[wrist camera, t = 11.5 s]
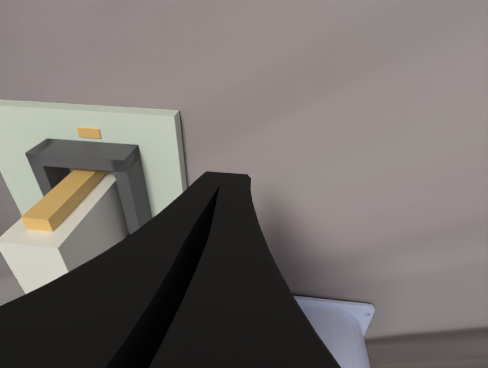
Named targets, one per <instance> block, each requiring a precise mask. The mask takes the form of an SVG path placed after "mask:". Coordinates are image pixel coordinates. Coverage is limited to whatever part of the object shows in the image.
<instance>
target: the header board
mask: <svg viewBox="0 0 488 368" xmlns="http://www.w3.org/2000/svg"><path fill="white" fill-rule="evenodd" d="M75 168H76V169H89V170H102V171H114V175H115V179H116V183H117V186H118V190H119V194H120V198H121V202H122V206H123V210H124V214H125V218H126V222H127V226H128V230H129V233H128V234H127V236H126V237H128V236H129V235H131V234H132V233H133V232H135V231H136V230H138V229H139V228H140V227H142V226H143V225H144V224H145V223H147V222H148V221H149V220H151V219H152V218H153V217H154V216H156V215H157V214H158V213H160V212H161V211H162V210H163V209H164V208H166V207H167V206H168V205H169V204H170V203H171V202H172V201H174V200H175V199H176V198H177V197H178V196H179V195H181V194H182V193H183V192H184V191H185V190H186V189H187V183H186V173H185V163H184V153H183V143H182V133H181V123H180V113H179V110H166V109H150V108H133V107H116V106H100V105H83V104H66V103H50V102H33V101H16V100H0V172H1V174H2V176H3V178H4V180H5V182H6V184H7V186H8V188H9V190H10V192H11V194H12V196H13V198H14V200H15V202H16V204H17V206H18V208H19V210H20V212H21V214H22V216H23V215H24V214H25V213H26V212H27V211H28V210H29V209H31V208H32V207H33V206H34V205H35V204H36V203H37V202H38V201H40V200H41V199H42V198H43V197H44V196H45V195H46V194H47V193H49V192H50V191H51V190H52V189H53V188H54V187H55V186H56V185H58V184H59V183H60V182H61V181H62V180H63V179H64V178H65V177H67V176H68V175H69V174H70V173H71V172H72V171H73V170H74V169H75Z"/></svg>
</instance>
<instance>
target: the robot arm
mask: <svg viewBox="0 0 488 368" xmlns="http://www.w3.org/2000/svg"><path fill="white" fill-rule="evenodd" d="M250 187H251V178H250V177H249V176H248V175H247V174H234V173H221V172H207V171H206V172H205V173H204V174H203V175H201V176H200V177H199V178H198V179H197V180H196V181H195V182H194V183H193V184H192V185H190V186H189V187H188V188H187V189H186V190H185V191H184V192H183V193H182V194H181V195H179V196H178V197H177V198H176V199H175V200H174V201H172V202H171V203H170V204H169V205H168V206H167V207H166V208H164V209H163V210H162V211H161V212H160V213H158V214H157V215H156V216H154V217H153V218H152V219H151V220H149V221H148V222H147V223H145V224H144V225H143V226H142V227H140V228H139V229H138V230H136V231H135V232H133V233H132V234H131V235H129V236H128V237H126V238H125V239H123V240H122V241H120V242H119V243H117V244H115V245H114V246H112V247H111V248H109V249H108V250H106V251H104V252H103V253H101V254H100V255H98V256H96V257H95V258H93V259H91V260H89V261H87V262H86V263H84V264H82V265H80V266H78V267H77V268H75V269H73V270H71V271H69V272H68V273H66V274H64V275H62V276H60V277H59V278H57V279H55V280H53V281H51V282H49V283H47V284H45V285H43V286H41V287H39V288H37V289H35V290H33V291H31V292H29V293H27V294H25V295H23V296H21V297H19V298H17V299H15V300H13V301H10V302H8V303H6V304H4V305H2V306H0V368H370V364H369V359H368V355H367V350H366V346H365V341H364V335H365V333H366V331H367V328H368V326H369V324H370V321H371V319H372V317H373V314H374V312H375V308H374V306H373V305H372V304H367V303H357V302H348V301H339V300H329V299H320V298H311V297H301V296H293V295H292V293H291V291H290V289H289V288H288V286H287V284H286V282H285V280H284V279H283V277H282V275H281V273H280V271H279V269H278V267H277V265H276V263H275V261H274V259H273V257H272V255H271V253H270V250H269V248H268V246H267V243H266V241H265V238H264V236H263V233H262V231H261V228H260V225H259V222H258V219H257V216H256V213H255V209H254V206H253V202H252V197H251V190H250Z"/></svg>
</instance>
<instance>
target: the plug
mask: <svg viewBox="0 0 488 368" xmlns="http://www.w3.org/2000/svg"><path fill="white" fill-rule="evenodd" d="M128 233H129V230H128V226H127V222H126V218H125V214H124V210H123V206H122V202H121V198H120V194H119V190H118V186H117V183H116V179H115V175H114V171H102V170H89V169H76V168H75V169H74V170H73V171H72V172H71V173H70V174H69V175H68V176H67V177H65V178H64V179H63V180H62V181H61V182H60V183H59V184H58V185H56V186H55V187H54V188H53V189H52V190H51V191H50V192H49V193H47V194H46V195H45V196H44V197H43V198H42V199H41V200H40V201H38V202H37V203H36V204H35V205H34V206H33V207H32V208H31V209H29V210H28V211H27V212H26V213H25V214H24V215H23V216H22V217H21V219H20V220H19V221H17V222H16V223H15V224H14V225H13V226H12V227H11V228H10V229H8V230H7V231H6V232H5V233H4V234H3V235H2V236H1V237H0V252H1V253H2V255H3V257H4V258H5V260H6V262H7V263H8V265H9V267H10V268H11V270H12V272H13V273H14V275H15V277H16V278H17V280H18V282H19V283H20V285H21V287H22V288H23V290H24V292H25V293H26V294H27V293H29V292H31V291H33V290H35V289H37V288H39V287H41V286H43V285H45V284H47V283H49V282H51V281H53V280H55V279H57V278H59V277H60V276H62V275H64V274H66V273H68V272H69V271H71V270H73V269H75V268H77V267H78V266H80V265H82V264H84V263H86V262H87V261H89V260H91V259H93V258H95V257H96V256H98V255H100V254H101V253H103V252H104V251H106V250H108V249H109V248H111V247H112V246H114V245H115V244H117V243H119V242H120V241H122V240H123V239H125V238H126V236H127V234H128Z"/></svg>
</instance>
